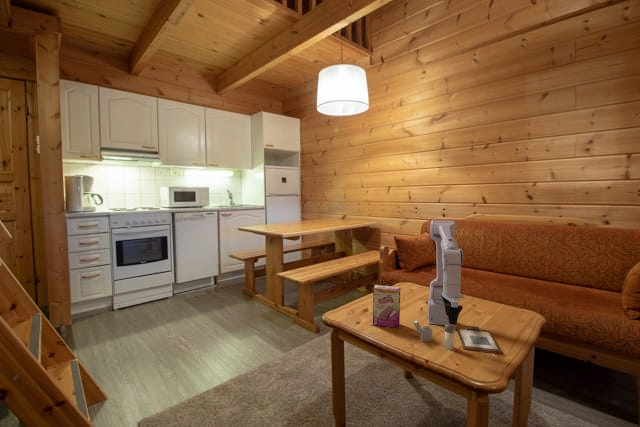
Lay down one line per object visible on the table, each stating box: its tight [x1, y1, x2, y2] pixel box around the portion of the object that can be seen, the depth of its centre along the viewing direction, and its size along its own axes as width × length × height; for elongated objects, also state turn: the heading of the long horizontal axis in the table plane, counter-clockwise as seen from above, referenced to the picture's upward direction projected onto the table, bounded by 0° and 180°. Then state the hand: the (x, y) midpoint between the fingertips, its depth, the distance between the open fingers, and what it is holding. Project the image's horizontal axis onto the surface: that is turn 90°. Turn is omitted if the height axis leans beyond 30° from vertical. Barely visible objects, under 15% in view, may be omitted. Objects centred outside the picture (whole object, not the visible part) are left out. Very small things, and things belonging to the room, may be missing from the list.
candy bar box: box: [372, 284, 401, 329], centre depth 127 cm, size 11×5×16 cm, turn 74°
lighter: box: [412, 319, 433, 342], centre depth 114 cm, size 7×2×8 cm, turn 100°
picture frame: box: [455, 325, 502, 354], centre depth 113 cm, size 12×16×2 cm
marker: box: [444, 323, 455, 351], centre depth 108 cm, size 3×3×8 cm
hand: (450, 319), depth 108 cm, fingers open, 7 cm apart
